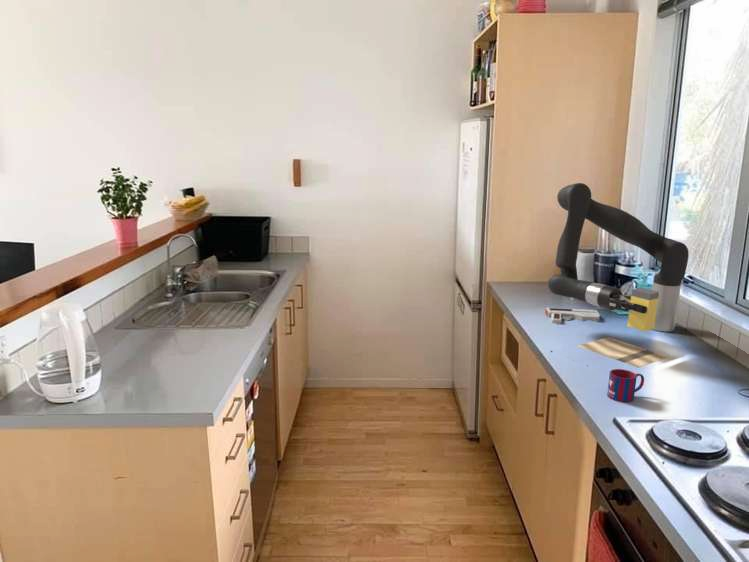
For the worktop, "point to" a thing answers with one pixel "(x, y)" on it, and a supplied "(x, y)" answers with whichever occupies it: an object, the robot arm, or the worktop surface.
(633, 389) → the mug
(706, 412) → the worktop surface
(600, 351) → the plywood panel
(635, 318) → the yellow spice tin
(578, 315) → the futuristic handgun
